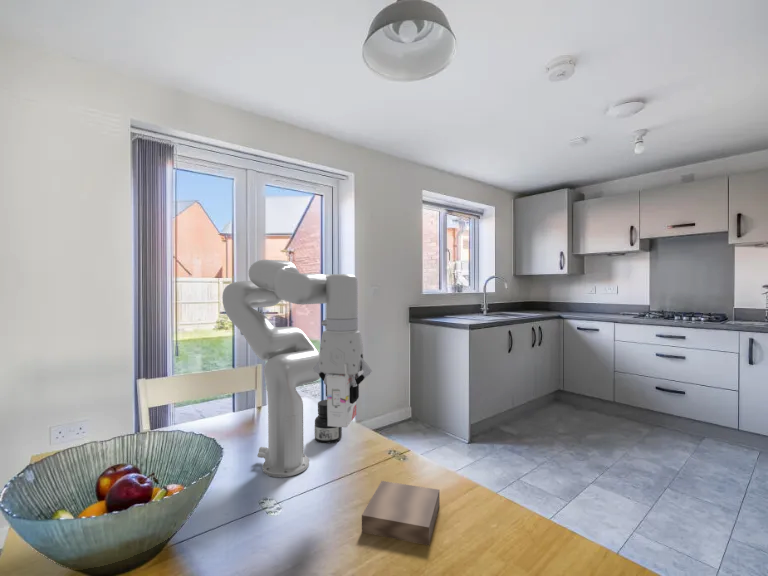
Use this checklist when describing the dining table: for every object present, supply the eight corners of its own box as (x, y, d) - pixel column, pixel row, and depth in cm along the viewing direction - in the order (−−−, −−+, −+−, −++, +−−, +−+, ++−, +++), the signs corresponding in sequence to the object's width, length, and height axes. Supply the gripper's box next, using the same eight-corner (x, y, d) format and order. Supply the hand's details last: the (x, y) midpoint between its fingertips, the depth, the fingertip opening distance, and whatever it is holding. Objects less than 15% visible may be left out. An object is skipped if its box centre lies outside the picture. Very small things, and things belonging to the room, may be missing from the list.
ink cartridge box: (338, 413, 95) (337, 356, 95) (356, 415, 94) (356, 356, 94) (326, 426, 87) (325, 363, 86) (346, 428, 86) (346, 364, 85)
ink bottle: (309, 442, 121) (308, 405, 121) (320, 432, 130) (319, 397, 130) (337, 445, 119) (337, 407, 119) (346, 434, 128) (346, 399, 127)
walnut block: (361, 534, 77) (361, 515, 77) (381, 497, 91) (381, 480, 91) (429, 547, 73) (429, 527, 73) (439, 506, 87) (439, 489, 87)
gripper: (302, 326, 89) (302, 402, 89) (370, 328, 84) (370, 409, 84) (317, 323, 96) (317, 393, 96) (380, 325, 91) (380, 399, 91)
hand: (342, 400), depth 90 cm, fingers closed on ink cartridge box, 5 cm apart
